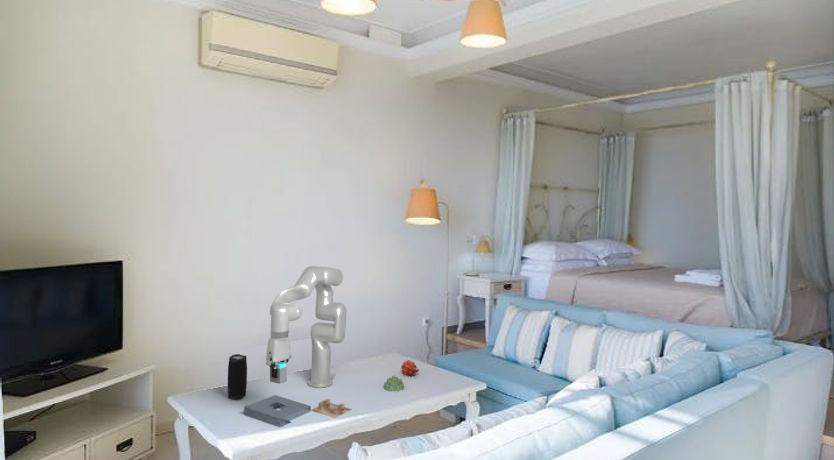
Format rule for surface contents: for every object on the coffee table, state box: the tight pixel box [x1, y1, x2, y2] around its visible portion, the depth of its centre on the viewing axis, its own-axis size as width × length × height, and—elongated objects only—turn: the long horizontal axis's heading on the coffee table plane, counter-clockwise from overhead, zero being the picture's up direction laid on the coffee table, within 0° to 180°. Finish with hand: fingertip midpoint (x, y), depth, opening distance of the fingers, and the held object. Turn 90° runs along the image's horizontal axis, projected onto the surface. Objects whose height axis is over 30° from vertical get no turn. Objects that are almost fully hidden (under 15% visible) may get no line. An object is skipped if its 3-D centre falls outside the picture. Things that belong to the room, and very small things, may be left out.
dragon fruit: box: [400, 359, 420, 378], centre depth 299 cm, size 8×8×12 cm
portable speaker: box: [227, 353, 248, 401], centre depth 256 cm, size 9×9×20 cm
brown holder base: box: [311, 398, 353, 419], centre depth 243 cm, size 12×14×4 cm
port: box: [243, 394, 312, 428], centre depth 238 cm, size 18×22×4 cm
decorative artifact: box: [383, 374, 405, 392], centre depth 277 cm, size 10×7×10 cm
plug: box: [269, 361, 288, 385], centre depth 238 cm, size 4×6×8 cm, turn 58°
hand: (278, 375), depth 238 cm, fingers closed on plug, 4 cm apart
